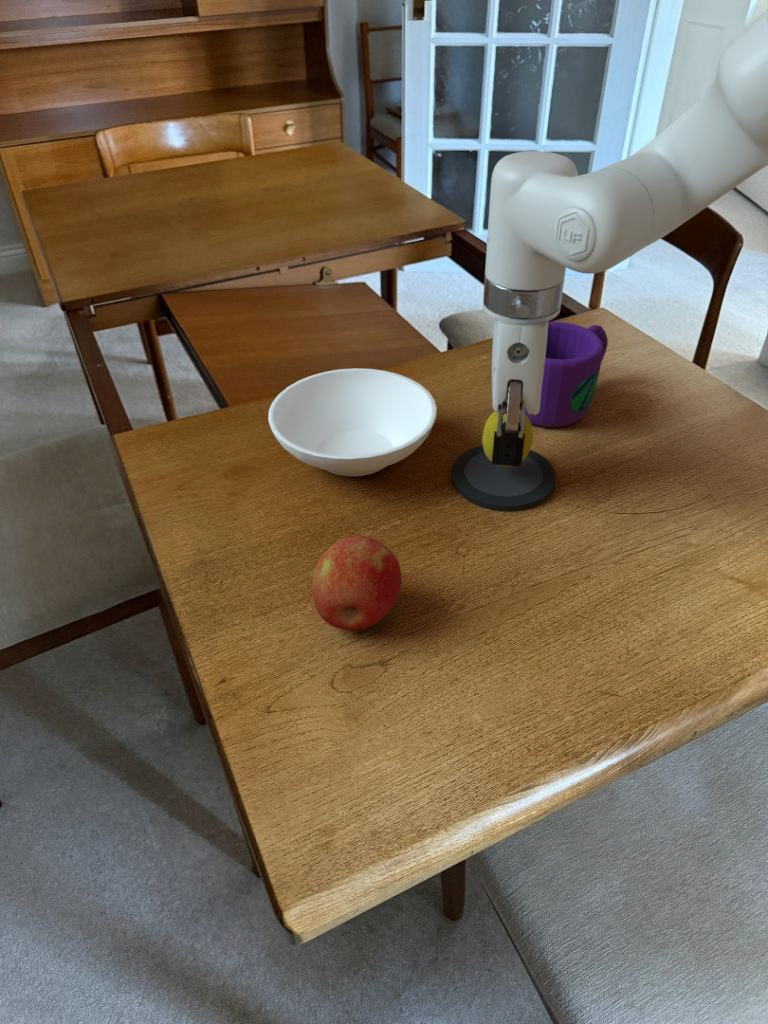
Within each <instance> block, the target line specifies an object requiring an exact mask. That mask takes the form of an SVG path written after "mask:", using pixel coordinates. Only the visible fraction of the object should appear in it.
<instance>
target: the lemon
mask: <svg viewBox="0 0 768 1024" xmlns="http://www.w3.org/2000/svg"><path fill="white" fill-rule="evenodd" d="M506 415H507V414H503V422H506ZM519 416H520V415H519ZM518 423H519V422H518ZM497 424H498V413H497V412H496V411H493V412H492V413H491V414H490V415H489V417H488V418H487V419H486V421H485V424H484V427H483V431H482V438H481V443H482V446H483V449H484V452H485V454H486V456H487V457H488V459H489V460H490V461H491V462H492V454H493V442H494V431H497ZM523 433H525V439H524V447H523V456H522V461H523V460H524V459H525V458H526V457H527V455H528V453H529V451H530V450H532V449H531V448H532V445H533V441H534V440H533V426H532V424H531V422H530V420H529V418H528V416H527V415H526V414H525V421H524V431H523ZM498 466H501V467H503V468H506V467H512V466H507V465H498Z"/></svg>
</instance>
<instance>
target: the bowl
mask: <svg viewBox="0 0 768 1024" xmlns="http://www.w3.org/2000/svg"><path fill="white" fill-rule="evenodd" d="M437 411H438V408H437V404H436V400H435V398H434V397H433V395H432V394H431V392H430V391H429V390H428V389H427V388H426V387H425V386H423V385H422V384H420V383H419V382H417V381H416V380H414V379H412V378H410V377H407V376H404V375H402V374H399V373H396V372H391V371H387V370H382V369H375V368H361V367H360V368H359V367H358V368H357V367H356V368H355V367H354V368H353V367H352V368H341V369H340V368H339V369H333V370H328V371H323V372H320V373H316V374H312V375H310V376H306V377H305V378H302V379H299V380H297V381H296V382H293V383H292V384H290V385H288V386H287V387H285V389H283V390H282V391H281V392H279V393H278V394H277V396H276V397H275V398H274V400H273V401H272V402H271V405H270V407H269V409H268V418H267V421H268V423H269V424H268V425H269V427H270V429H271V432H272V435H273V436H274V438H276V440H277V442H278V443H279V444H280V445H281V447H282V448H283V449H284V450H286V451H287V452H288V453H289V454H291V456H293V457H294V458H296V459H297V460H298V461H300V462H302V463H304V464H306V465H308V466H310V467H314V468H317V469H320V470H324V471H327V472H329V473H330V474H334V475H338V476H343V477H344V476H345V477H363V476H367V475H368V476H369V475H372V474H376V473H377V472H380V471H382V470H384V469H385V468H386V467H388V466H391V465H394V464H397V463H399V462H401V461H402V460H404V459H407V457H409V456H411V454H413V453H414V452H415V451H417V449H419V447H420V446H422V444H423V443H424V442H425V440H427V438H428V437H429V435H430V433H431V432H432V429H433V426H434V425H435V422H436V420H437Z"/></svg>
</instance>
